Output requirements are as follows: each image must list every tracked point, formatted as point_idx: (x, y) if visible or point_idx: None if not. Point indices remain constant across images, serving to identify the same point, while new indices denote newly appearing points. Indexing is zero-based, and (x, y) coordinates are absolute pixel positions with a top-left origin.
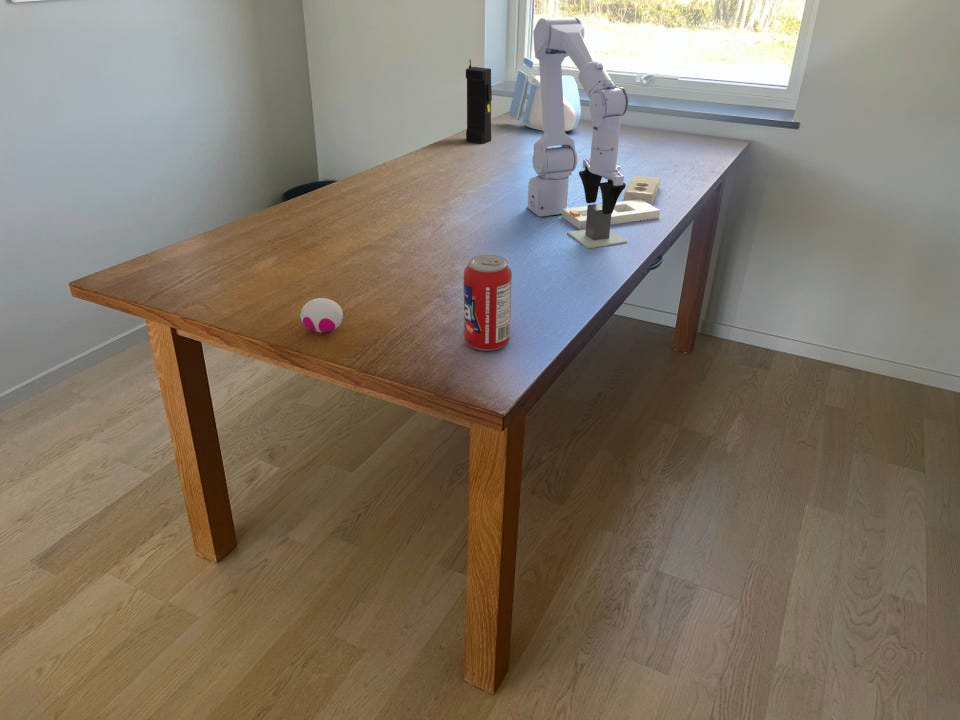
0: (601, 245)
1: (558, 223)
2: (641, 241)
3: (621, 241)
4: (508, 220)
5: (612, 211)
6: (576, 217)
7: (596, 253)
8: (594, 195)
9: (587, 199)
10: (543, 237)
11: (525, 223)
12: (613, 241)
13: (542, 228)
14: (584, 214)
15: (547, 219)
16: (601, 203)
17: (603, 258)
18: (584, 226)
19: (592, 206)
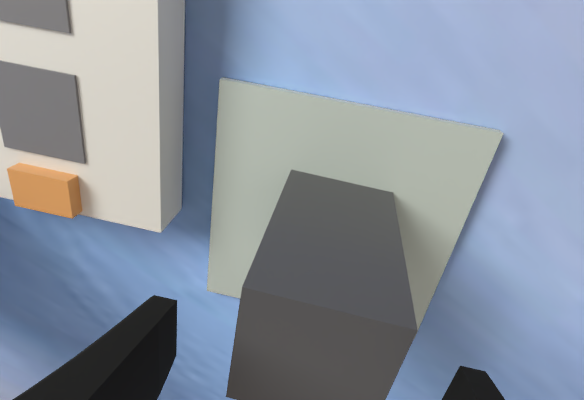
0: (437, 279)
1: (77, 235)
2: (560, 20)
3: (482, 168)
4: (4, 351)
5: (494, 389)
6: (101, 211)
7: (482, 339)
8: (139, 364)
9: (160, 390)
10: (209, 369)
11: (47, 330)
12: (447, 205)
13: (117, 318)
14: (68, 144)
15: (16, 241)
16: (242, 304)
17: (549, 354)
18: (177, 187)
19: (272, 394)
